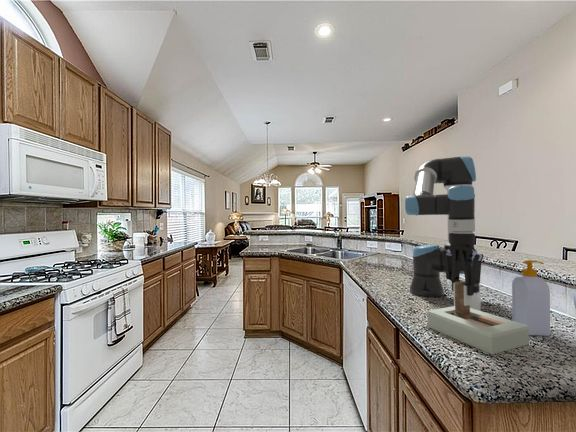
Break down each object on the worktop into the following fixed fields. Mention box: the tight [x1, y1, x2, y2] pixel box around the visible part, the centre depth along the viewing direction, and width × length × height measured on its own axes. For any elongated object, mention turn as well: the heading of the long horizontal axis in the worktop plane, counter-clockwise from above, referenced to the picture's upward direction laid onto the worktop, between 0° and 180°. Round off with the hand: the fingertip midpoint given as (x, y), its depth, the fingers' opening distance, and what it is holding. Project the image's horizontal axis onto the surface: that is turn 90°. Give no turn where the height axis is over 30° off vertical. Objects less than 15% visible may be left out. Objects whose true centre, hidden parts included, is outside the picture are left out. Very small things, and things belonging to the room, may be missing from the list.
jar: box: [453, 280, 482, 311], centre depth 113 cm, size 9×8×12 cm
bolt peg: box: [454, 280, 471, 319], centre depth 98 cm, size 5×5×14 cm
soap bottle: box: [511, 260, 551, 337], centre depth 97 cm, size 9×7×23 cm
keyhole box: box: [426, 305, 530, 355], centre depth 95 cm, size 22×16×6 cm
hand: (462, 303), depth 98 cm, fingers closed on bolt peg, 3 cm apart
